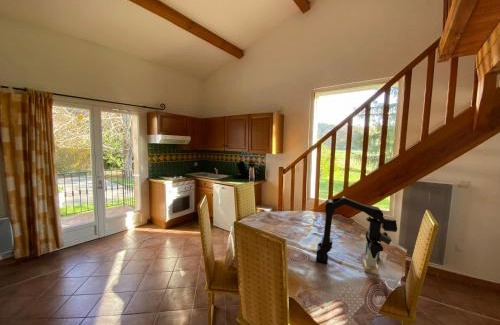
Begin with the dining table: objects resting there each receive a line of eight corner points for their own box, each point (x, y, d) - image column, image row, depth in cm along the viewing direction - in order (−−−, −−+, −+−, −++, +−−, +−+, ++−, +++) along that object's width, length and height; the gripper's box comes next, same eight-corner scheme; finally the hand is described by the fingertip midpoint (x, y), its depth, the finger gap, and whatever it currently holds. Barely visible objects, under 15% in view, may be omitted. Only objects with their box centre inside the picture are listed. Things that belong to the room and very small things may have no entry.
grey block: (366, 264, 125) (366, 258, 125) (365, 260, 130) (366, 254, 129) (375, 267, 123) (376, 260, 123) (374, 262, 128) (375, 256, 127)
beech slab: (364, 272, 125) (365, 265, 124) (362, 265, 131) (363, 259, 131) (378, 274, 123) (378, 268, 122) (375, 267, 129) (375, 261, 129)
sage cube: (368, 258, 124) (368, 251, 124) (366, 254, 129) (367, 247, 128) (376, 260, 123) (377, 253, 122) (375, 256, 127) (376, 249, 127)
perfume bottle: (369, 256, 140) (370, 239, 139) (365, 251, 146) (367, 235, 145) (379, 257, 139) (380, 240, 138) (375, 252, 145) (376, 236, 144)
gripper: (395, 238, 112) (392, 266, 114) (386, 224, 129) (384, 248, 131) (371, 235, 116) (369, 261, 118) (366, 222, 133) (363, 245, 135)
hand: (372, 253), depth 125 cm, fingers open, 9 cm apart
